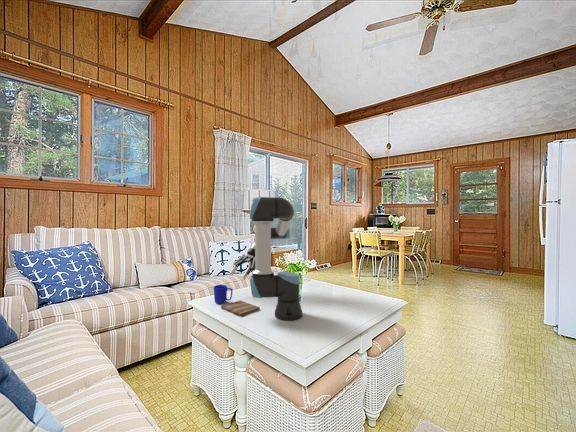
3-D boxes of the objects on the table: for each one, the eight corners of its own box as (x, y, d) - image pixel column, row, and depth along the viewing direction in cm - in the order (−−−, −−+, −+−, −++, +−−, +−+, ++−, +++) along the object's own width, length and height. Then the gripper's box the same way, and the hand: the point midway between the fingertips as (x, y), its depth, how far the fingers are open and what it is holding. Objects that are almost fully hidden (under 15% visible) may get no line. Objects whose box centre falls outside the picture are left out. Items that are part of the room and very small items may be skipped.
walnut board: (259, 309, 161) (259, 307, 161) (240, 316, 151) (240, 313, 151) (240, 302, 173) (240, 300, 173) (221, 308, 163) (221, 306, 163)
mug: (229, 305, 168) (229, 289, 168) (211, 304, 171) (211, 288, 170) (234, 301, 176) (234, 285, 176) (217, 299, 179) (217, 284, 179)
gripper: (269, 256, 185) (252, 283, 175) (246, 252, 202) (228, 276, 192) (263, 249, 181) (245, 276, 171) (240, 245, 198) (222, 270, 187)
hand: (236, 276), depth 181 cm, fingers open, 13 cm apart
